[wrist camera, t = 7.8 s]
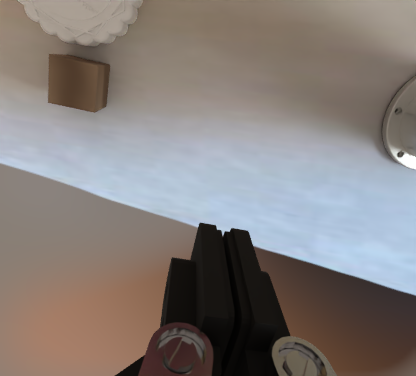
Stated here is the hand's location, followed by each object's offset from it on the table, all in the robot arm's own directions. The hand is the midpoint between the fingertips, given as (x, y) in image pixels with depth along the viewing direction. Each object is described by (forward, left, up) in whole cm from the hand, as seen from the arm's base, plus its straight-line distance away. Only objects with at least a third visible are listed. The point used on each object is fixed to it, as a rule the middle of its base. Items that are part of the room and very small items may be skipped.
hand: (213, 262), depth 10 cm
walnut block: (+13, -1, -27) cm, 30 cm away
